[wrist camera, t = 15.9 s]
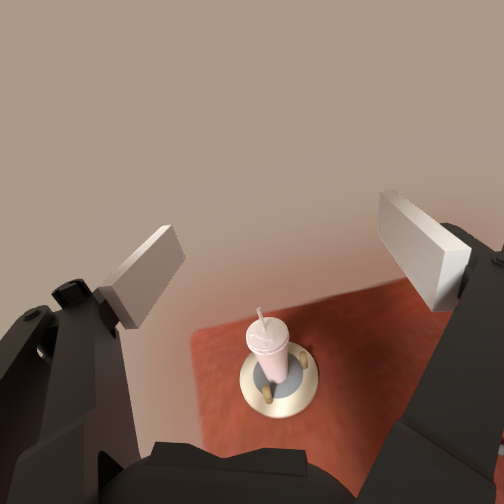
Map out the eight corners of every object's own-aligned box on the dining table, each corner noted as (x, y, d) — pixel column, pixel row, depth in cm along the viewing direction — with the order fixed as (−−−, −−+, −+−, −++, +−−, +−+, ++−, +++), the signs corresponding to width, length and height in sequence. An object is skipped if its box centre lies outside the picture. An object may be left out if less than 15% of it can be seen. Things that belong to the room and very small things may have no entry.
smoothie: (279, 349, 44) (265, 289, 37) (304, 373, 39) (294, 310, 32) (250, 371, 41) (230, 311, 34) (274, 400, 36) (255, 337, 29)
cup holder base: (323, 351, 43) (322, 336, 41) (310, 431, 33) (307, 416, 31) (257, 338, 48) (253, 324, 46) (228, 404, 38) (221, 389, 36)
